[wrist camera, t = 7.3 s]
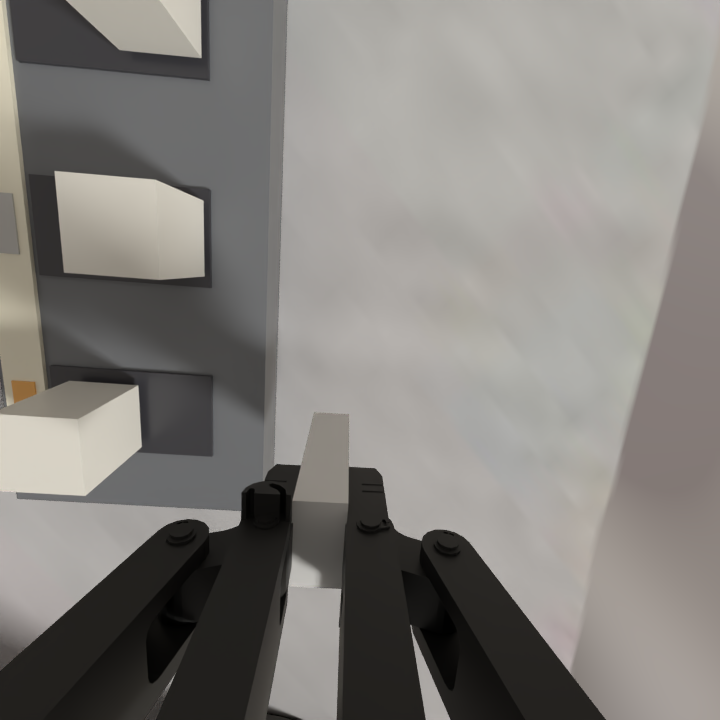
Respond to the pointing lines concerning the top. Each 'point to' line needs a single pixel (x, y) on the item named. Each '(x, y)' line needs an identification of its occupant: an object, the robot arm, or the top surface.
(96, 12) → the tab
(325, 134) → the top surface
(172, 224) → the tab
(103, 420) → the tab
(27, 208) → the switch bank
